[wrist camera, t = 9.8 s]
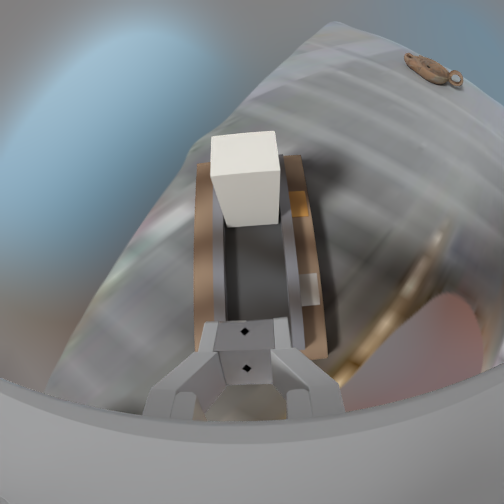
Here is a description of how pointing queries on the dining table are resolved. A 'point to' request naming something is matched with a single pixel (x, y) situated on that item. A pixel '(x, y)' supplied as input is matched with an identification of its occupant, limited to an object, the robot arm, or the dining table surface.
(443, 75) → the oil lamp
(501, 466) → the robot arm
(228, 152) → the switch knob
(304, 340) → the switch housing
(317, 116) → the dining table surface
